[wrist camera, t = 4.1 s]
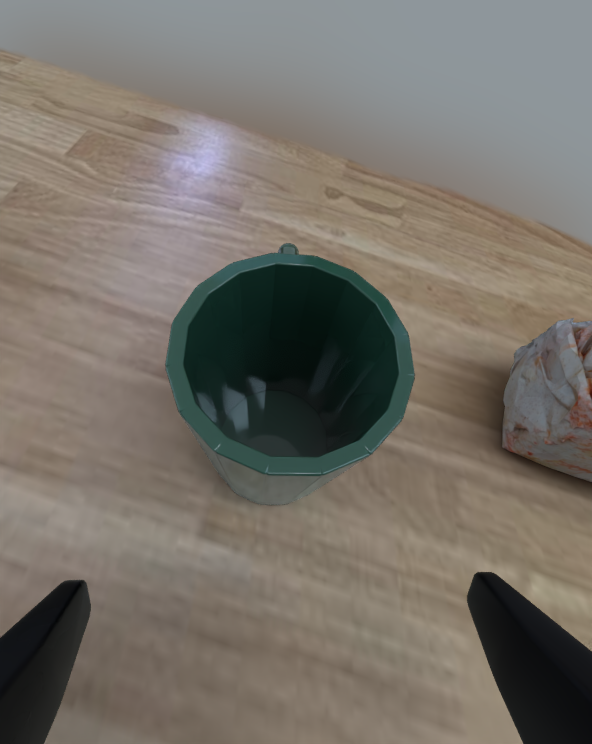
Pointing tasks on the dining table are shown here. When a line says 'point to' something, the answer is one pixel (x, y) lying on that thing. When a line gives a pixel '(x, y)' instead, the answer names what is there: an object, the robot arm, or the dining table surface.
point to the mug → (288, 372)
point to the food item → (552, 400)
